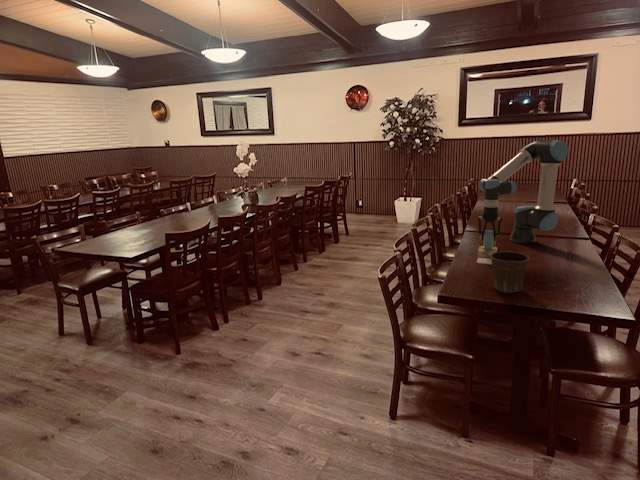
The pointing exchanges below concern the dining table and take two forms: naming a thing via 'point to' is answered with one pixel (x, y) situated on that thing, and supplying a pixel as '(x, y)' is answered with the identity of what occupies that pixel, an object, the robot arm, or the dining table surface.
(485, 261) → the tile
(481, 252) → the socket block
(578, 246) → the dining table surface
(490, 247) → the plug
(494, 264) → the plant pot
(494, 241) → the mug
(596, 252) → the dining table surface
